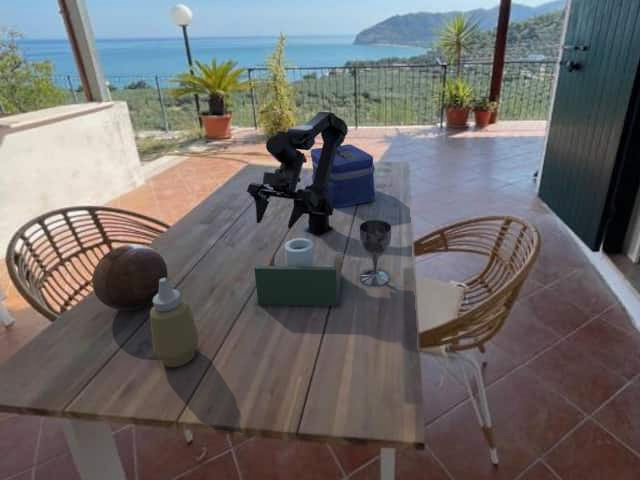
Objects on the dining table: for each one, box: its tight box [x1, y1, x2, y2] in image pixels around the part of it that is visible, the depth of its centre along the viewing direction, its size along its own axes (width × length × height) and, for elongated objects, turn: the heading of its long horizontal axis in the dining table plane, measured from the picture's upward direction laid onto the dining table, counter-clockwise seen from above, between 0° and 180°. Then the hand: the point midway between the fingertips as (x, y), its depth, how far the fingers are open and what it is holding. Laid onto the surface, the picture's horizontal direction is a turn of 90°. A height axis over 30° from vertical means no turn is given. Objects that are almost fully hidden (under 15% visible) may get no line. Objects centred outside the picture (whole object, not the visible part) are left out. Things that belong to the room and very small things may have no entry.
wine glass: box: [359, 219, 392, 287], centre depth 100 cm, size 8×8×15 cm
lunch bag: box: [309, 143, 376, 208], centre depth 157 cm, size 31×21×20 cm
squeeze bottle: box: [149, 278, 200, 368], centre depth 74 cm, size 8×8×18 cm
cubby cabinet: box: [254, 252, 343, 307], centre depth 96 cm, size 13×19×10 cm
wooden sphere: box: [91, 243, 168, 311], centre depth 90 cm, size 15×15×15 cm
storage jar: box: [284, 237, 315, 267], centre depth 95 cm, size 7×7×13 cm
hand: (273, 225), depth 100 cm, fingers open, 9 cm apart
